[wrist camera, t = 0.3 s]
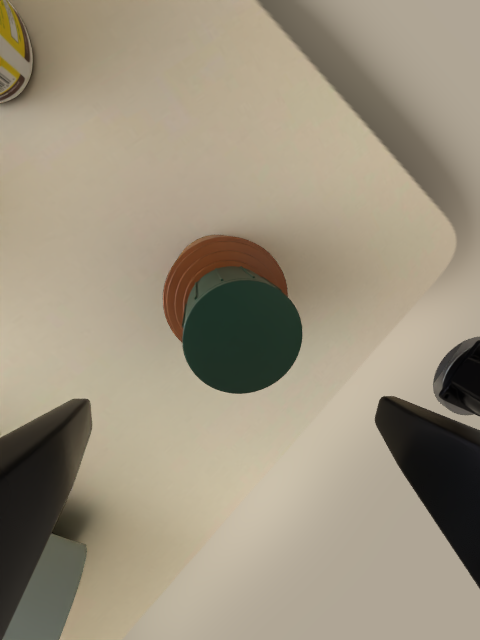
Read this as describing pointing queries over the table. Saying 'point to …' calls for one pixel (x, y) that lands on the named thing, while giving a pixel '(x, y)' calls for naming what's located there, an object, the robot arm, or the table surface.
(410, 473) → the robot arm
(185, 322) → the cap
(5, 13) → the supplement bottle
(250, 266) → the bottle
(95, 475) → the table surface
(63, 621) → the grey bowl
